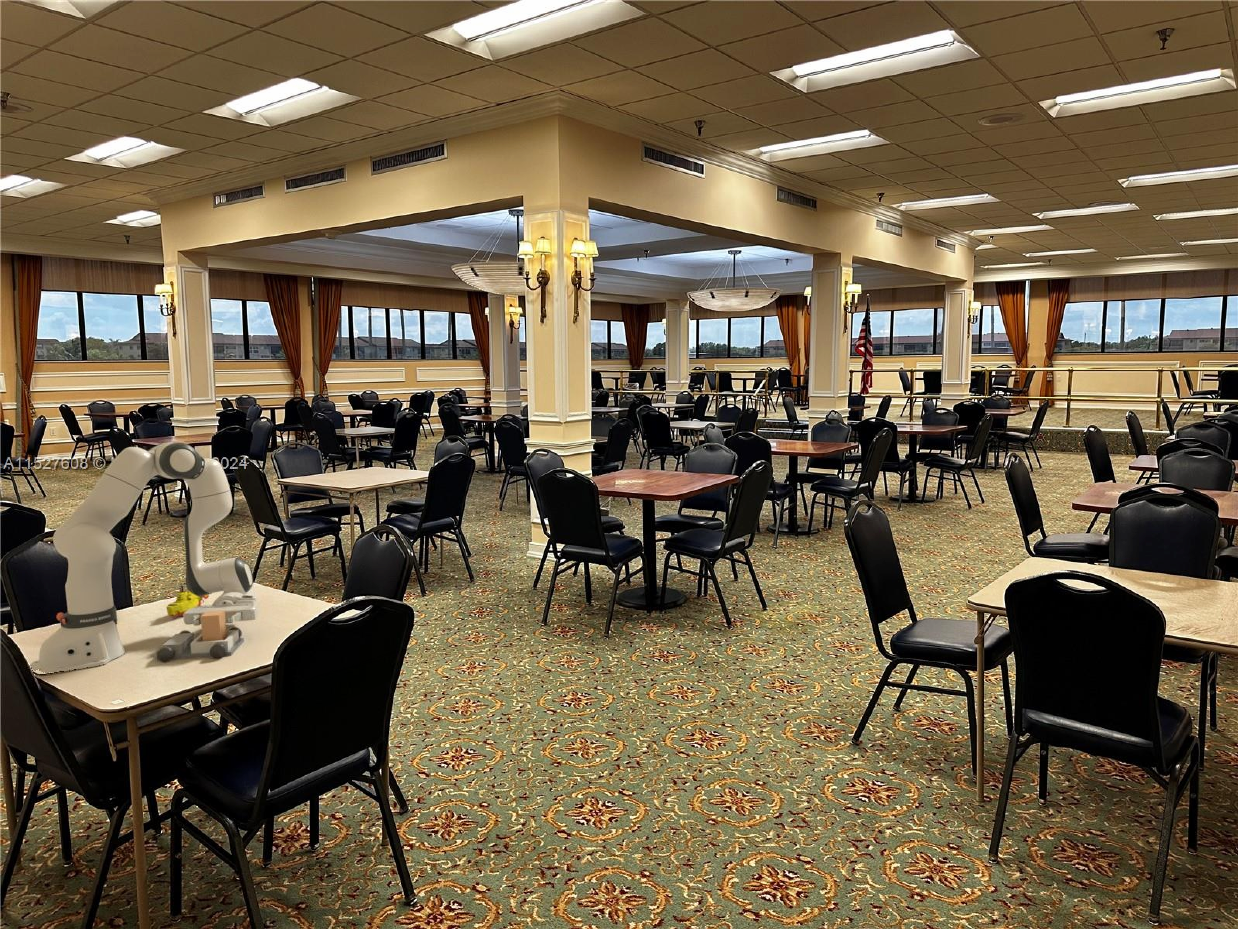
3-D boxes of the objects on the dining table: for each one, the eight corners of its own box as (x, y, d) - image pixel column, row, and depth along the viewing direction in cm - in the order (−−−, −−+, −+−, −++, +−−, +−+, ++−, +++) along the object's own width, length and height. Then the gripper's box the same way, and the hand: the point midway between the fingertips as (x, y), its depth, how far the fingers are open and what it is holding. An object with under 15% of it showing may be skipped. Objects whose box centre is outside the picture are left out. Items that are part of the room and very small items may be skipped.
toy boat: (211, 605, 286) (208, 577, 285) (178, 622, 269) (176, 592, 267) (193, 605, 287) (191, 577, 286) (160, 621, 269) (157, 592, 268)
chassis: (153, 663, 231) (152, 649, 231) (175, 644, 247) (174, 631, 246) (228, 657, 234) (227, 644, 234) (245, 639, 250) (244, 626, 249)
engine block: (203, 649, 238) (200, 616, 237) (209, 644, 243) (206, 611, 242) (221, 648, 239) (218, 615, 238) (227, 642, 244) (224, 610, 243)
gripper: (191, 600, 251) (174, 613, 238) (262, 595, 254) (248, 609, 241) (193, 620, 252) (176, 635, 239) (263, 615, 255) (250, 630, 241)
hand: (213, 622), depth 240 cm, fingers open, 8 cm apart
